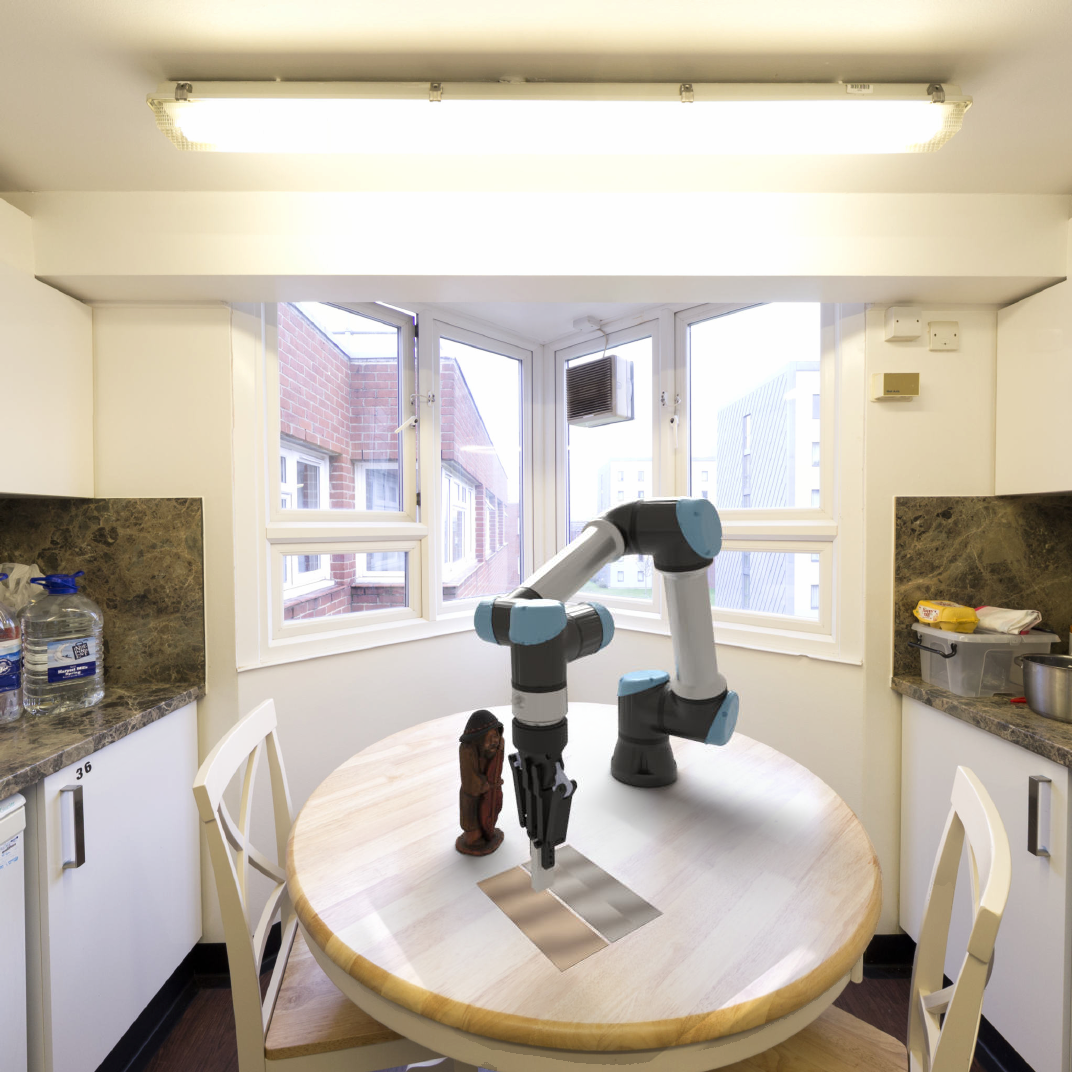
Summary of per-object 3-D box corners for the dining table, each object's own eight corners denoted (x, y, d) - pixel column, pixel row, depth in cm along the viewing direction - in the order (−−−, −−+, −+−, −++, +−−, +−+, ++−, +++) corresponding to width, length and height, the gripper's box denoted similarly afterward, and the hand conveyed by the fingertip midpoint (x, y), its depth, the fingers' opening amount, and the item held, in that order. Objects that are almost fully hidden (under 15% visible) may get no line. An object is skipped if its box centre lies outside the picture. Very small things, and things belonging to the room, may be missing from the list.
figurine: (481, 871, 97) (480, 723, 97) (445, 857, 101) (443, 715, 101) (515, 842, 106) (514, 706, 105) (479, 830, 110) (478, 699, 109)
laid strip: (521, 872, 97) (521, 864, 97) (568, 852, 102) (568, 844, 102) (612, 953, 79) (612, 942, 79) (663, 923, 85) (663, 913, 84)
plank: (476, 892, 92) (475, 883, 92) (518, 874, 96) (518, 865, 96) (561, 983, 74) (561, 971, 74) (608, 955, 78) (608, 944, 78)
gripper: (490, 708, 81) (494, 872, 83) (545, 737, 71) (549, 925, 72) (534, 697, 86) (537, 853, 87) (592, 723, 75) (595, 900, 76)
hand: (542, 886), depth 79 cm, fingers closed
